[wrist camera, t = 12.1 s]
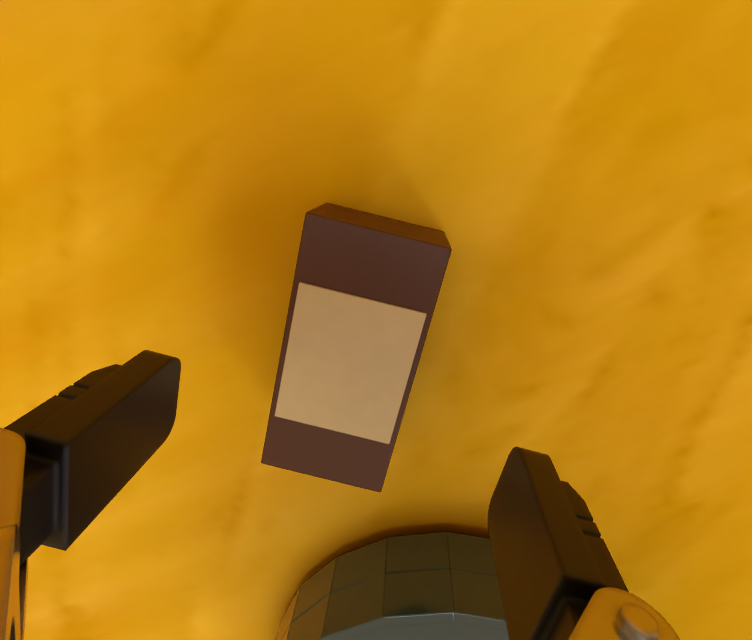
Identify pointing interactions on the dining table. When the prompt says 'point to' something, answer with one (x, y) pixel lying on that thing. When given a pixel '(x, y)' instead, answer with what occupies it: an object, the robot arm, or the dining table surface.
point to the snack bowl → (402, 593)
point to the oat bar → (352, 343)
